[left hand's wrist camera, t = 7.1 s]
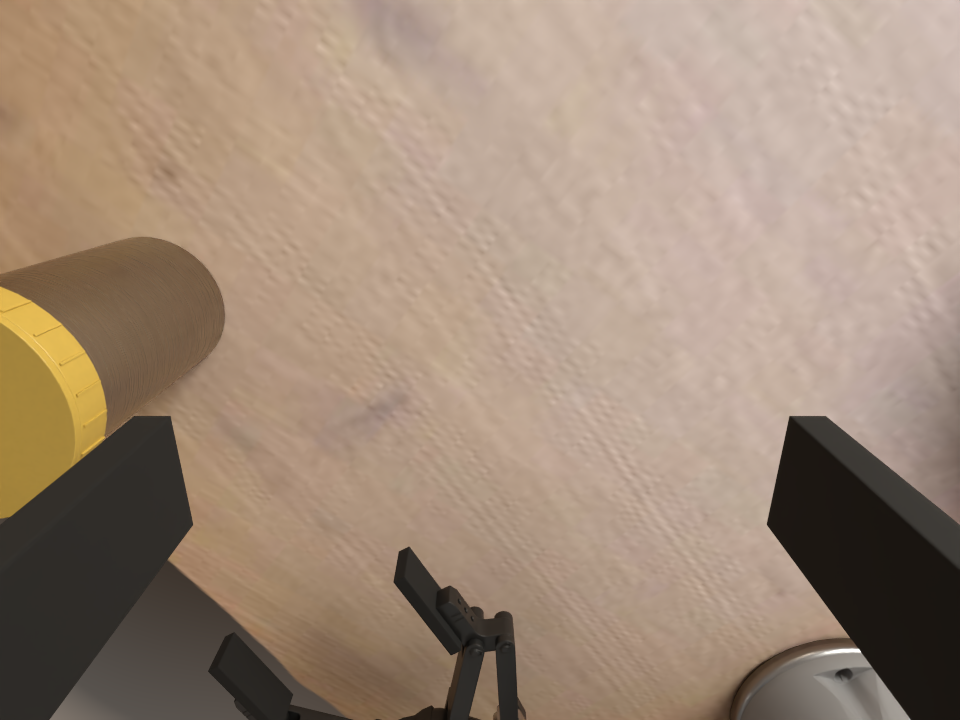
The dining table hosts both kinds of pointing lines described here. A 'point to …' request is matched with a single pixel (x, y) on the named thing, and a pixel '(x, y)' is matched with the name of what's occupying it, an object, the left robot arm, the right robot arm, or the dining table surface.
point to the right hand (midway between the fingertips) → (308, 608)
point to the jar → (130, 314)
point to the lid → (42, 401)
